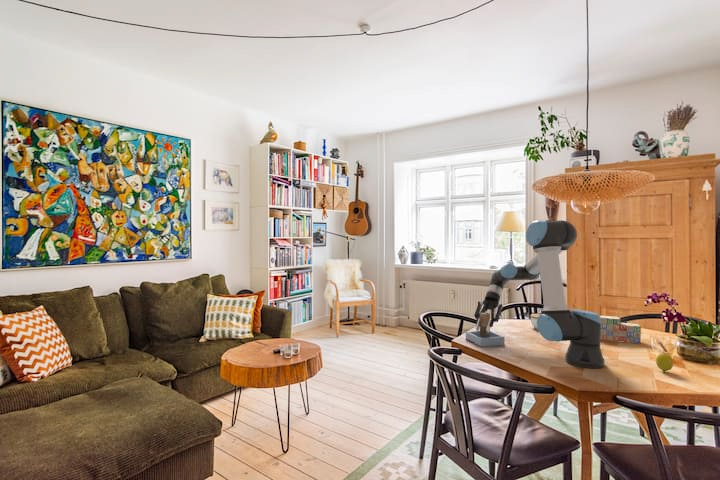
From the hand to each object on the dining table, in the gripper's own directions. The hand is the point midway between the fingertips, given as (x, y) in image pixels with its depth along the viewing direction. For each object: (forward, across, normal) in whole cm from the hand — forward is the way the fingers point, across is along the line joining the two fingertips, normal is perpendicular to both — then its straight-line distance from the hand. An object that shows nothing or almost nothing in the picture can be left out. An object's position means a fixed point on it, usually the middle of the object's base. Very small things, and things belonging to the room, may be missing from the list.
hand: (482, 330), depth 199 cm
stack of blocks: (-32, -54, -42) cm, 75 cm away
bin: (+2, 0, -7) cm, 8 cm away
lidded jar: (-32, -16, -42) cm, 55 cm away
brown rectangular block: (0, 0, -5) cm, 5 cm away
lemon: (-1, -75, -11) cm, 75 cm away
